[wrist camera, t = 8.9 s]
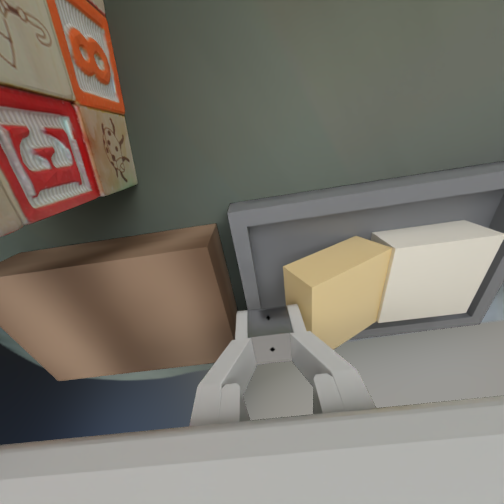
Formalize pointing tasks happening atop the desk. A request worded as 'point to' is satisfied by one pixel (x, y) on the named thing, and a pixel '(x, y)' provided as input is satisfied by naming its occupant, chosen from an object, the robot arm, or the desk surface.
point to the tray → (366, 231)
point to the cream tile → (434, 268)
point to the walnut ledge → (121, 303)
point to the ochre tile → (338, 288)
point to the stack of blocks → (58, 110)
